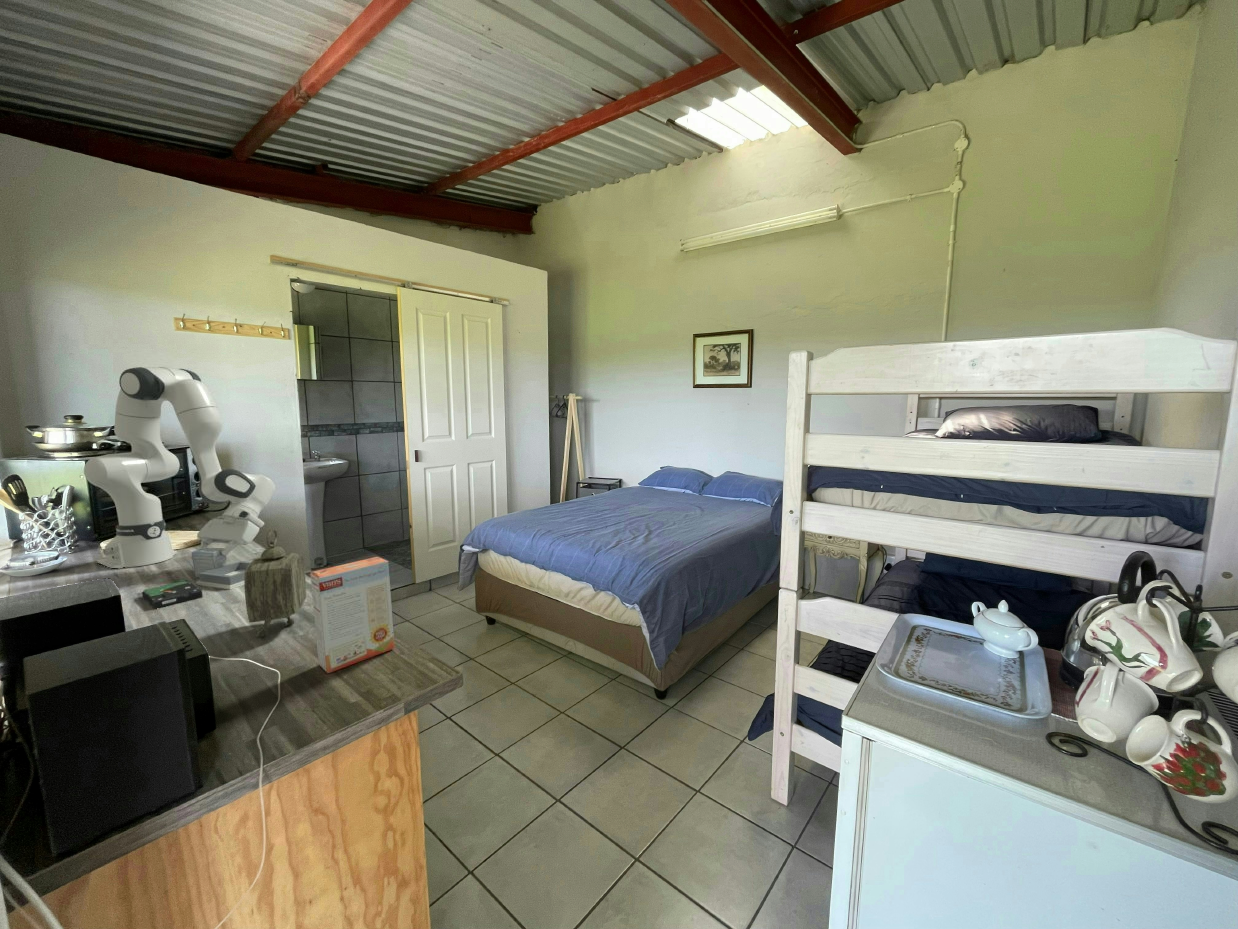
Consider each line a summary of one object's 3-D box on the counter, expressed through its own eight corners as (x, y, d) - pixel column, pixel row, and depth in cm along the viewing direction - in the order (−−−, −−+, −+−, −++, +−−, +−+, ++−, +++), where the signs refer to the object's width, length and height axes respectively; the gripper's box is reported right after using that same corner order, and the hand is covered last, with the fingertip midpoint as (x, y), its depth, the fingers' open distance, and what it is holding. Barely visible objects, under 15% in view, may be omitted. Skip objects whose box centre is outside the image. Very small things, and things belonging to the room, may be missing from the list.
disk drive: (204, 599, 140) (187, 587, 148) (203, 590, 140) (187, 579, 148) (155, 611, 132) (141, 598, 140) (154, 602, 131) (140, 589, 140)
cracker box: (384, 641, 114) (378, 555, 111) (395, 649, 110) (390, 560, 107) (316, 664, 103) (309, 570, 101) (326, 675, 99) (318, 577, 97)
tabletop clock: (269, 617, 126) (260, 524, 123) (309, 612, 130) (302, 521, 127) (249, 642, 113) (239, 538, 110) (294, 636, 116) (286, 534, 113)
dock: (196, 584, 150) (195, 573, 149) (242, 570, 163) (241, 560, 163) (230, 589, 146) (229, 578, 145) (274, 574, 159) (273, 563, 159)
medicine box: (229, 572, 160) (225, 547, 158) (217, 578, 156) (213, 552, 154) (207, 572, 161) (203, 547, 159) (194, 577, 156) (190, 551, 155)
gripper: (208, 511, 166) (180, 546, 158) (254, 514, 161) (227, 551, 153) (223, 520, 171) (196, 556, 163) (268, 524, 166) (242, 560, 158)
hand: (211, 553), depth 158 cm, fingers open, 8 cm apart
